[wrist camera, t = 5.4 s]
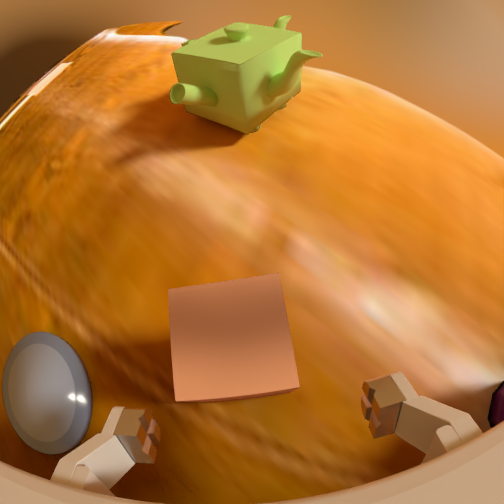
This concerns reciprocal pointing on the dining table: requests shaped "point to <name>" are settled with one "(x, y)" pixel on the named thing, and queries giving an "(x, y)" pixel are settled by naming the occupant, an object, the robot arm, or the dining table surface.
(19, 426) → the gray dish
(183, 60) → the kettle
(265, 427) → the dining table surface
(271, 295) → the terracotta block
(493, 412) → the potion bottle
